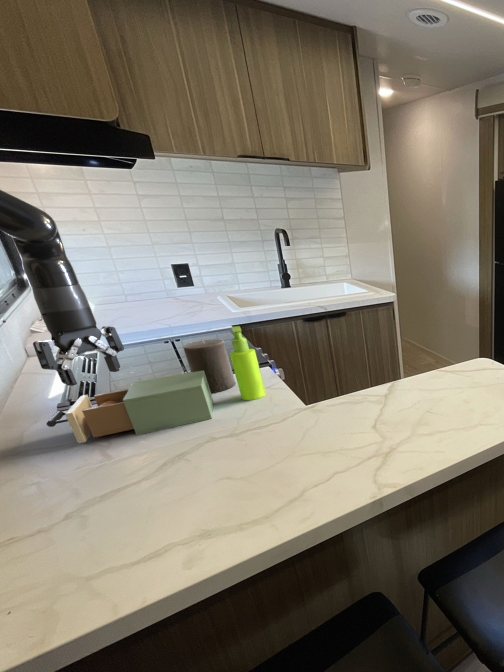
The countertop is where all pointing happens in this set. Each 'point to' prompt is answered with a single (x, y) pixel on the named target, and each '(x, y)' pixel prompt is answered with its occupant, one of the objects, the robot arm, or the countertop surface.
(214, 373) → the pillar candle
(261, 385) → the soap dispenser
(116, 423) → the drawer
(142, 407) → the cabinet
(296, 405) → the countertop surface
